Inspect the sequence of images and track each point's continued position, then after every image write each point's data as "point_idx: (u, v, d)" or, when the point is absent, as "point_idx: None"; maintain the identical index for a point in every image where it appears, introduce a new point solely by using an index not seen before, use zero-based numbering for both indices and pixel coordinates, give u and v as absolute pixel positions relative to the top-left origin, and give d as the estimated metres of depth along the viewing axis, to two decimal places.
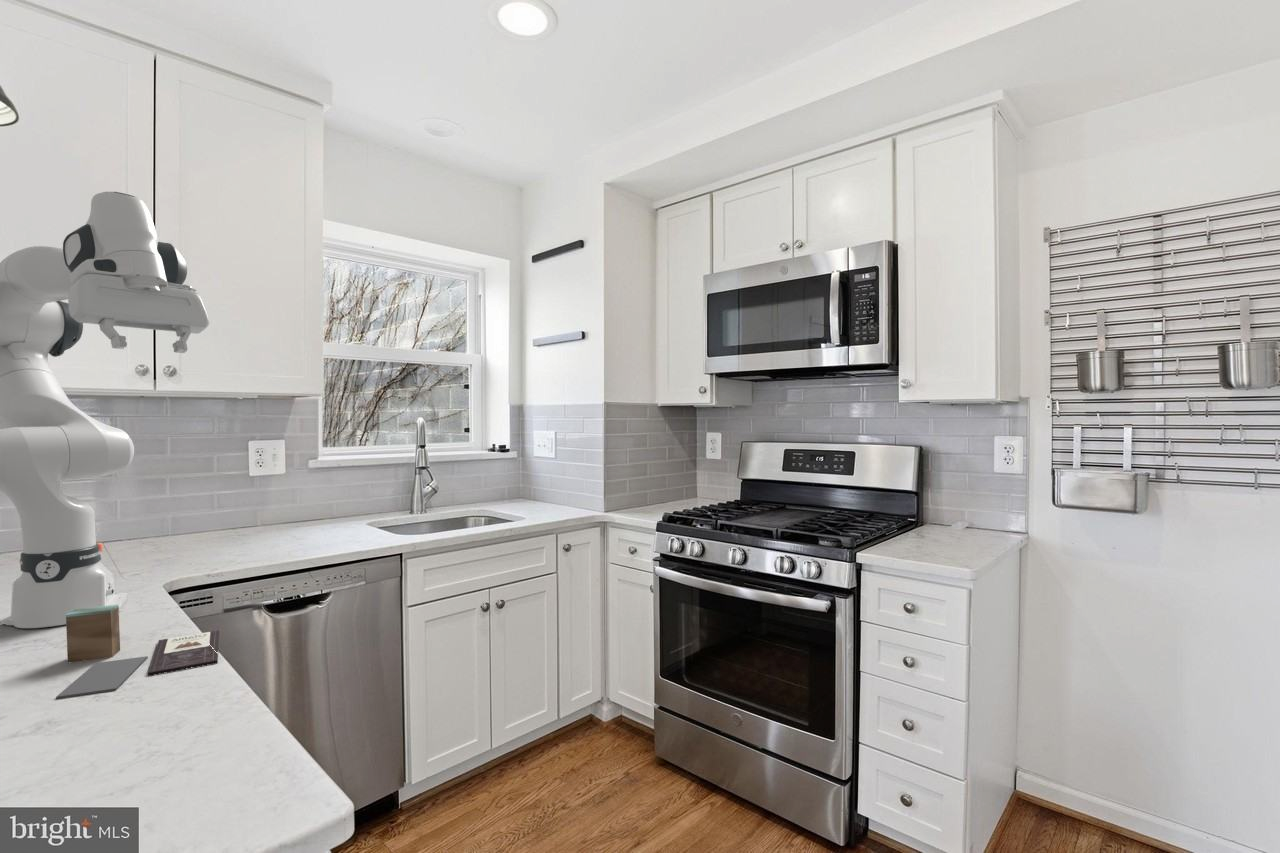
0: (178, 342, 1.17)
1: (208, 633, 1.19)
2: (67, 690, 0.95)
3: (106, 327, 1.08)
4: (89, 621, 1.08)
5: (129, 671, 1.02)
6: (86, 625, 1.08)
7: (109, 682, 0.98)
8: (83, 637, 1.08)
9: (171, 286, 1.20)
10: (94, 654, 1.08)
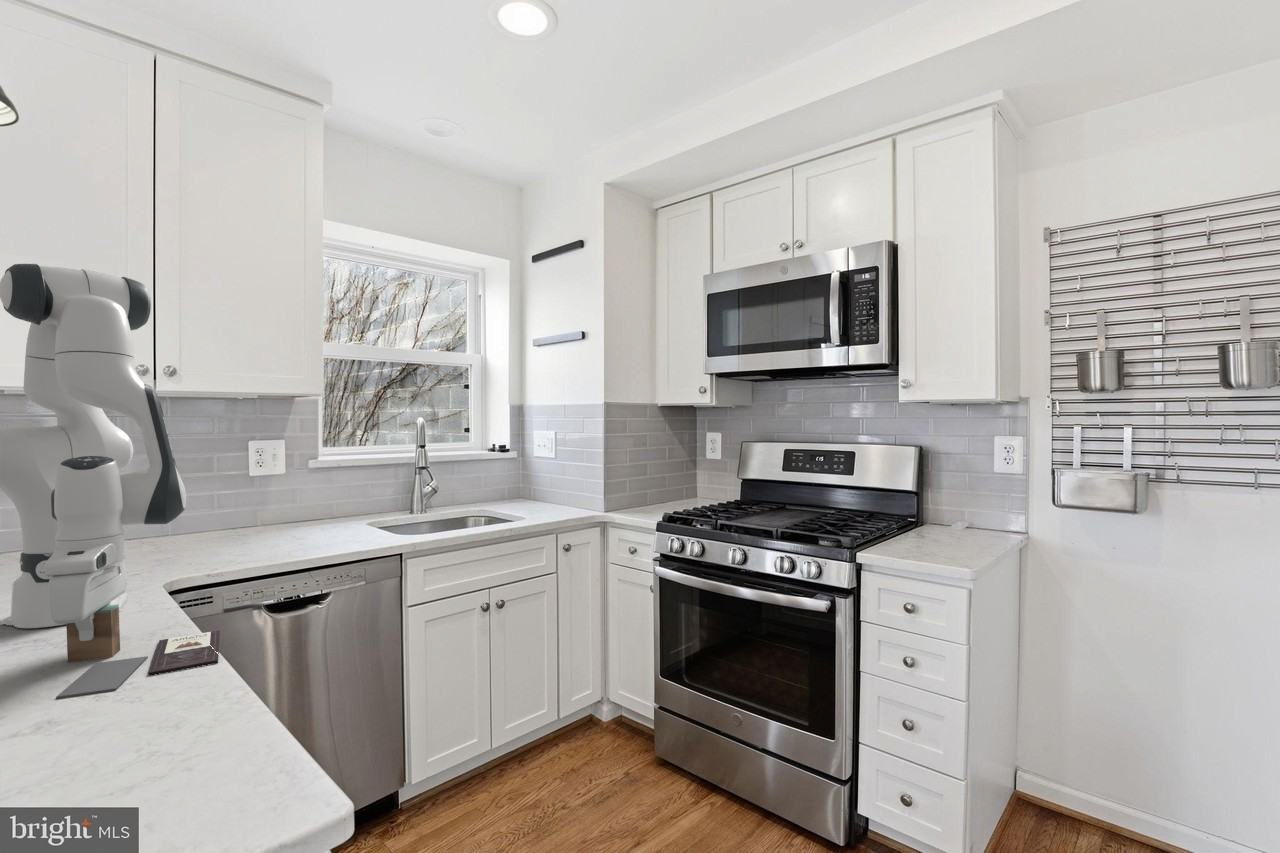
0: None
1: (208, 633, 1.19)
2: (67, 690, 0.95)
3: (87, 622, 1.06)
4: None
5: (129, 671, 1.02)
6: None
7: (109, 682, 0.98)
8: None
9: None
10: (94, 654, 1.08)
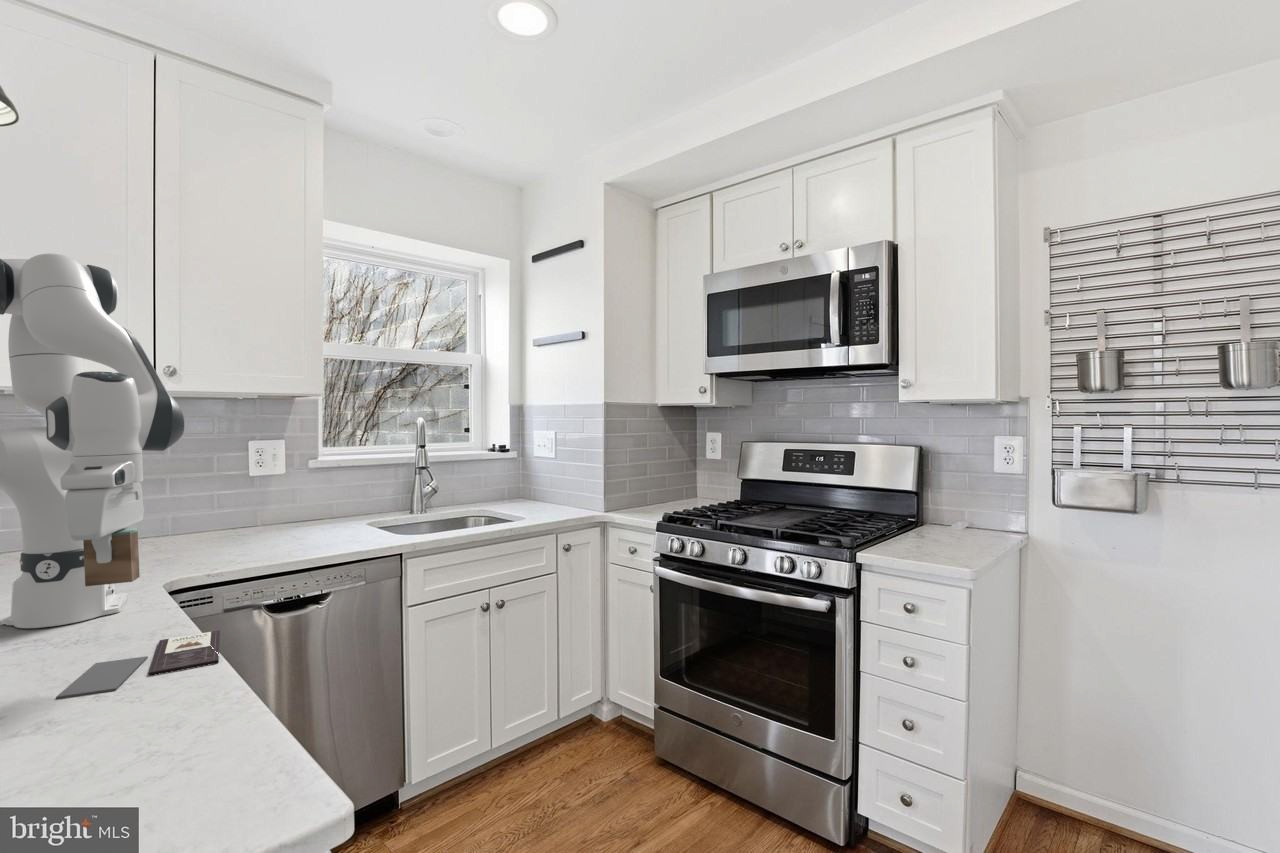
0: None
1: (208, 633, 1.19)
2: (67, 690, 0.95)
3: (105, 543, 1.00)
4: None
5: (129, 671, 1.02)
6: None
7: (109, 682, 0.98)
8: None
9: None
10: (112, 578, 1.03)
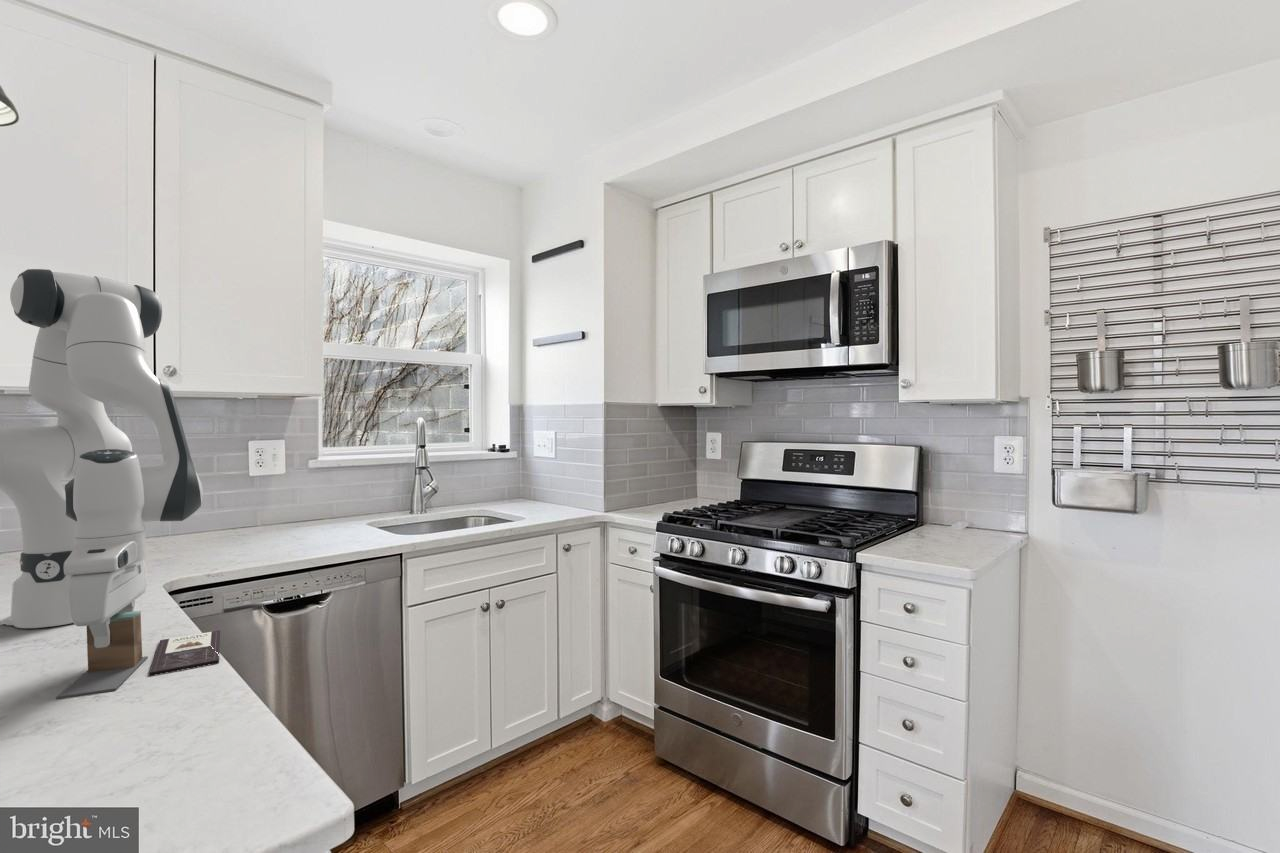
0: None
1: (209, 633, 1.19)
2: (67, 690, 0.95)
3: (103, 628, 0.99)
4: (110, 628, 1.03)
5: (129, 671, 1.02)
6: None
7: (109, 682, 0.98)
8: None
9: None
10: (115, 663, 1.03)
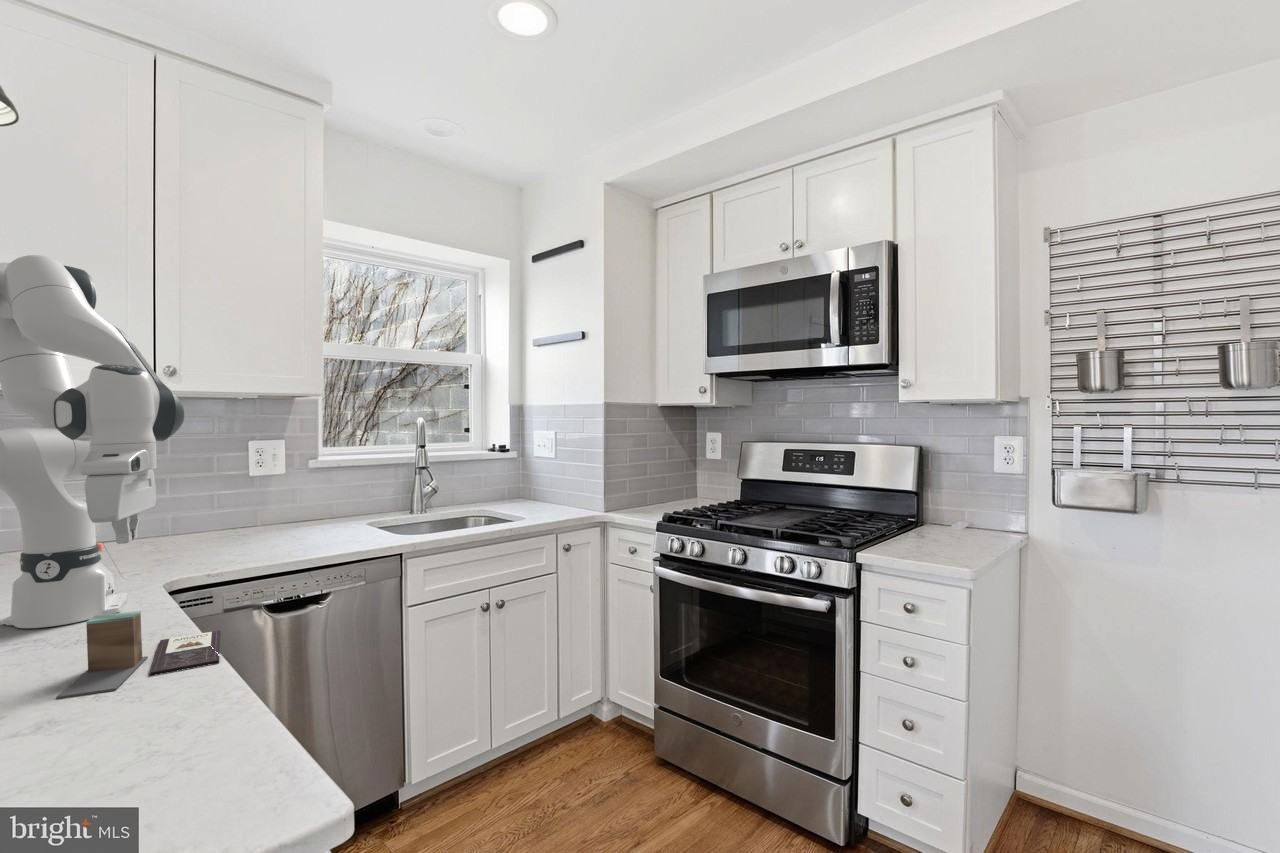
0: (134, 532, 1.12)
1: (209, 633, 1.19)
2: (67, 690, 0.95)
3: (124, 525, 1.08)
4: (110, 628, 1.03)
5: (129, 671, 1.02)
6: (108, 633, 1.03)
7: (109, 682, 0.98)
8: (104, 645, 1.02)
9: None
10: (115, 663, 1.03)
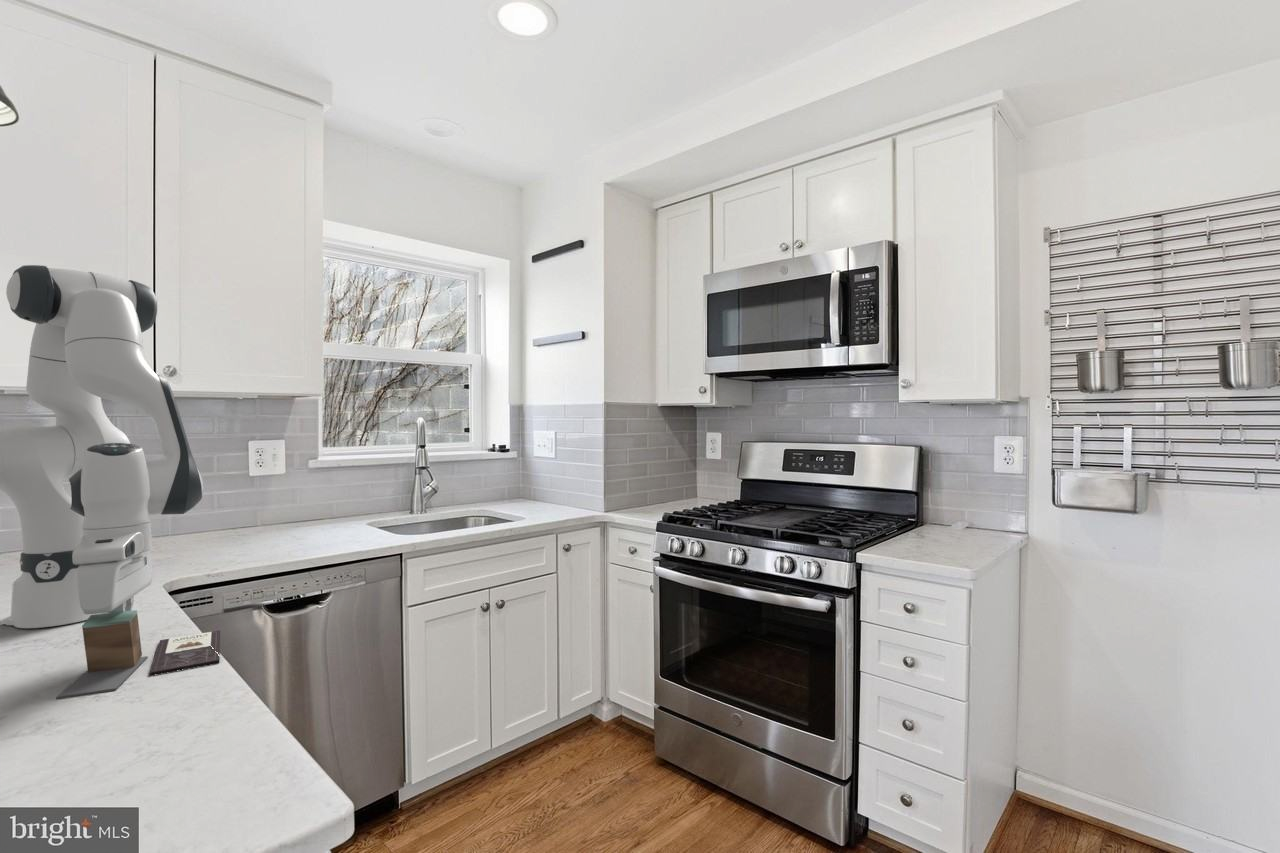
0: None
1: (209, 633, 1.19)
2: (67, 690, 0.95)
3: (120, 610, 1.05)
4: (107, 632, 1.02)
5: (129, 671, 1.02)
6: (105, 636, 1.02)
7: (109, 682, 0.98)
8: (102, 647, 1.02)
9: None
10: (115, 664, 1.03)
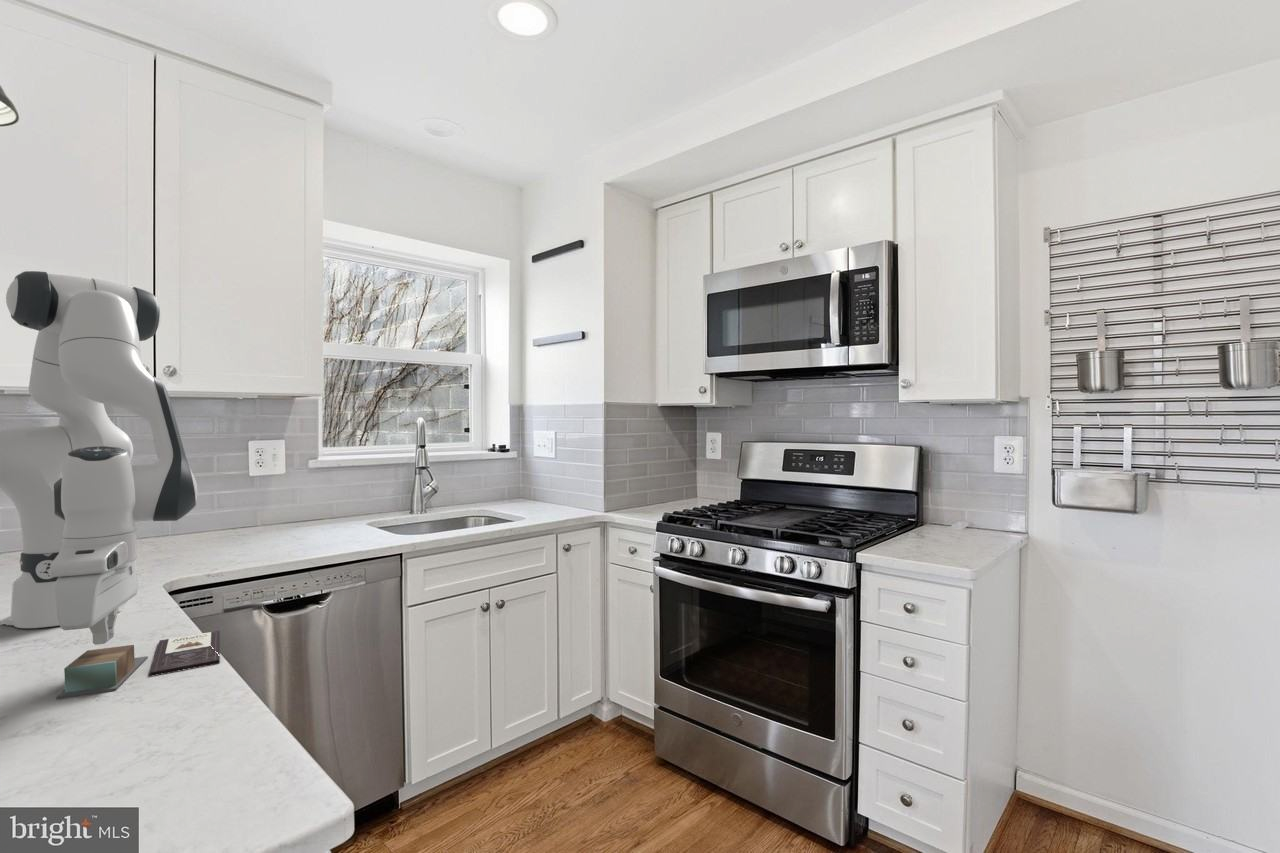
0: (110, 631, 1.01)
1: (208, 633, 1.19)
2: None
3: (102, 624, 0.99)
4: None
5: None
6: None
7: None
8: None
9: None
10: None
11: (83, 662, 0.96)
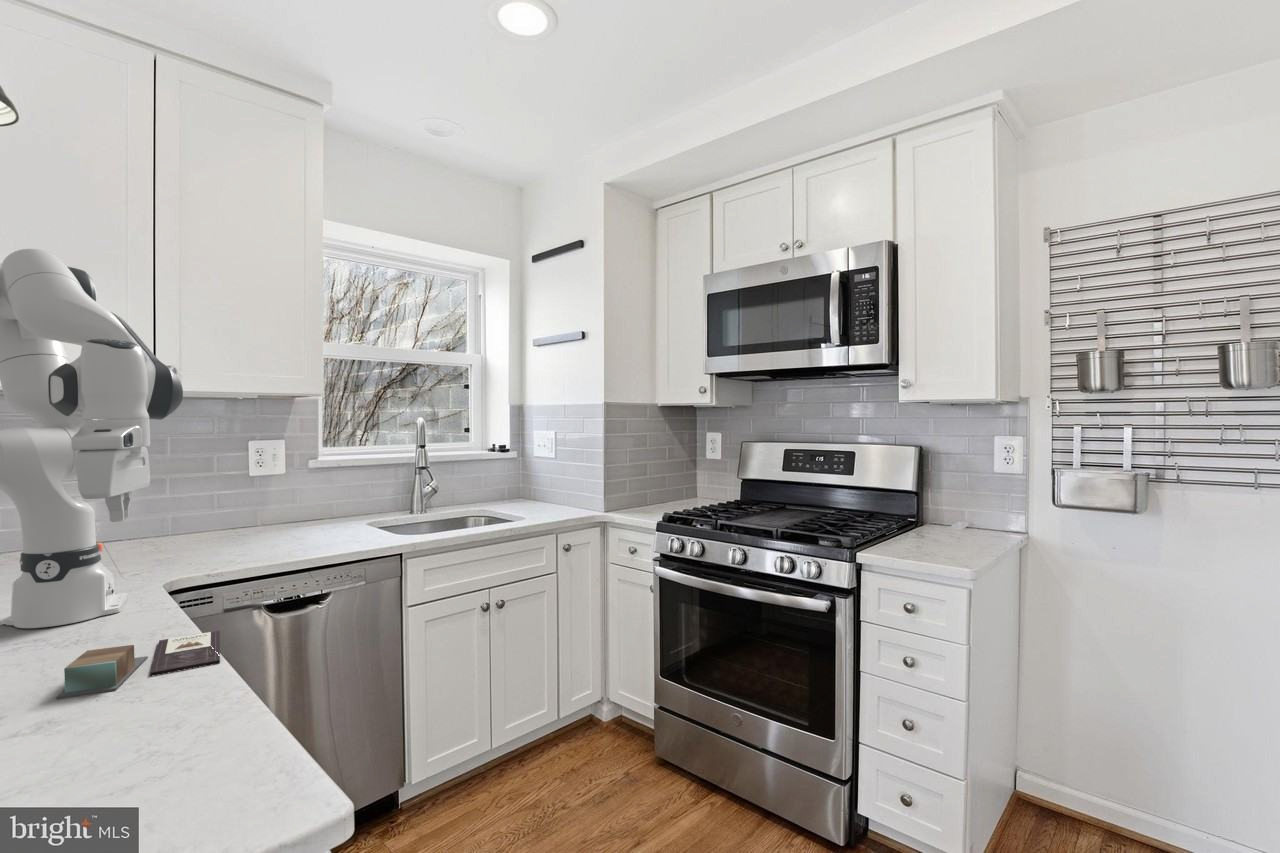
0: (126, 511, 1.08)
1: (208, 633, 1.19)
2: None
3: (118, 502, 1.06)
4: None
5: None
6: None
7: None
8: None
9: None
10: None
11: (83, 662, 0.96)
